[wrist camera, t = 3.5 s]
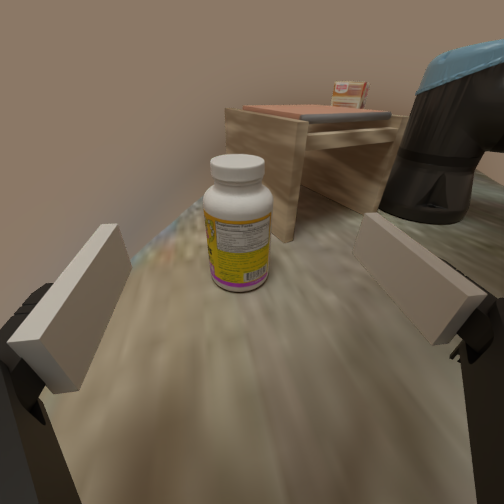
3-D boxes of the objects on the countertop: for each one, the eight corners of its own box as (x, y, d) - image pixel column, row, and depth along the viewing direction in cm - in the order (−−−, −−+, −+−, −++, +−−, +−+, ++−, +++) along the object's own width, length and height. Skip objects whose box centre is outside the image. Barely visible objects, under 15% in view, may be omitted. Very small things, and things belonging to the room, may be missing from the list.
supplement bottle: (221, 254, 31) (213, 149, 24) (271, 261, 30) (280, 153, 23) (202, 289, 26) (185, 167, 18) (263, 299, 24) (271, 173, 17)
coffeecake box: (344, 170, 64) (366, 81, 53) (318, 166, 66) (333, 80, 55) (352, 158, 75) (371, 82, 64) (330, 155, 77) (344, 82, 66)
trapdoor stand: (303, 182, 55) (314, 106, 46) (375, 216, 41) (409, 116, 32) (228, 196, 47) (224, 108, 39) (284, 243, 33) (297, 122, 25)
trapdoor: (315, 110, 44) (316, 104, 43) (390, 120, 33) (392, 111, 32) (242, 112, 38) (242, 105, 37) (303, 125, 27) (305, 115, 26)
